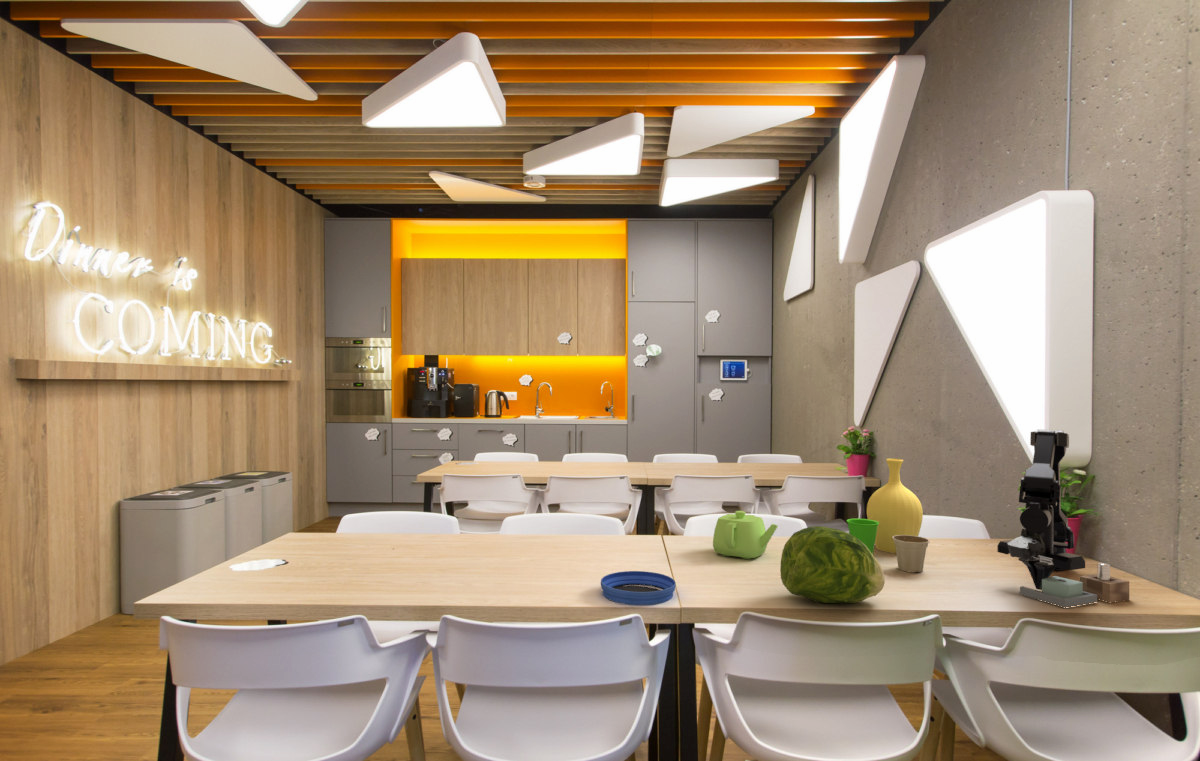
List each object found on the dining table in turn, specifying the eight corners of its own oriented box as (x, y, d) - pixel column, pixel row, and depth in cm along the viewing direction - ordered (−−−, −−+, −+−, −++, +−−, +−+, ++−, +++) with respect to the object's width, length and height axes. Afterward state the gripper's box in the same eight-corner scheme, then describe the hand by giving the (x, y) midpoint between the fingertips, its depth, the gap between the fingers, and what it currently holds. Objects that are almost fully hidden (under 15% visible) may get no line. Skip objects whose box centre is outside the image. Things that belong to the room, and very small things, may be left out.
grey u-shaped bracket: (1051, 590, 169) (1051, 582, 169) (1097, 603, 159) (1097, 594, 159) (1019, 594, 165) (1019, 586, 165) (1065, 608, 155) (1065, 599, 155)
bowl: (653, 612, 151) (654, 596, 151) (586, 598, 161) (586, 583, 161) (687, 592, 167) (687, 577, 167) (624, 580, 176) (624, 566, 176)
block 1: (1055, 594, 166) (1055, 575, 166) (1082, 601, 161) (1082, 581, 161) (1041, 598, 163) (1041, 578, 163) (1069, 605, 158) (1069, 585, 158)
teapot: (787, 553, 205) (787, 510, 205) (765, 567, 188) (765, 521, 189) (729, 545, 215) (730, 504, 215) (704, 558, 198) (704, 513, 198)
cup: (878, 556, 202) (878, 519, 202) (880, 564, 193) (880, 525, 193) (845, 554, 205) (846, 517, 205) (846, 561, 196) (846, 523, 196)
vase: (932, 556, 203) (932, 462, 203) (878, 555, 203) (878, 462, 203) (908, 543, 219) (909, 456, 219) (858, 543, 219) (859, 456, 219)
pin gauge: (1101, 595, 165) (1101, 562, 165) (1112, 598, 163) (1112, 565, 163) (1095, 596, 164) (1095, 563, 164) (1105, 599, 162) (1105, 565, 162)
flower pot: (933, 575, 182) (933, 543, 182) (896, 573, 184) (896, 541, 184) (924, 566, 191) (924, 535, 191) (888, 564, 193) (888, 534, 193)
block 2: (1098, 591, 168) (1098, 573, 168) (1129, 600, 162) (1129, 581, 162) (1079, 594, 166) (1079, 576, 166) (1110, 603, 159) (1110, 584, 159)
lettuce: (909, 581, 148) (885, 519, 163) (805, 562, 147) (791, 502, 162) (875, 631, 158) (855, 568, 173) (778, 614, 157) (767, 552, 172)
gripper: (981, 520, 172) (981, 582, 172) (1054, 536, 155) (1054, 604, 155) (1012, 517, 176) (1012, 577, 176) (1087, 532, 159) (1086, 599, 159)
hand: (1039, 589), depth 166 cm, fingers closed
